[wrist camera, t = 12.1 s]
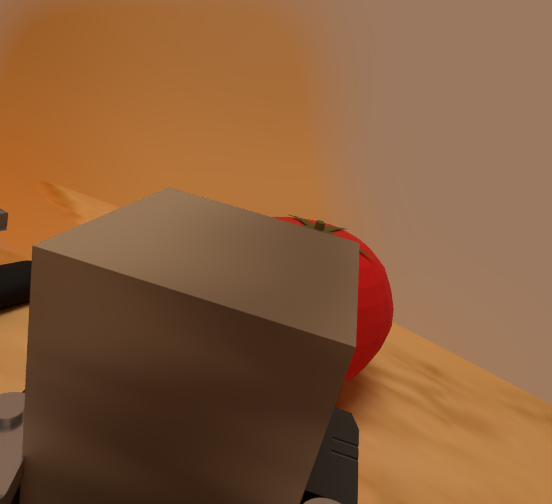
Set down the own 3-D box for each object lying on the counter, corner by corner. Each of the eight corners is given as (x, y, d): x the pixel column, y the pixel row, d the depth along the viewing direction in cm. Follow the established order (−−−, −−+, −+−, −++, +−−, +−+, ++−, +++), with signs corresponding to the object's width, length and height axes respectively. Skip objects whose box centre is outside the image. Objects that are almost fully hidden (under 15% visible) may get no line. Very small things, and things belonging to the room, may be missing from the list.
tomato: (236, 444, 23) (286, 264, 19) (174, 317, 33) (199, 180, 29) (394, 411, 29) (456, 267, 25) (301, 311, 39) (336, 195, 35)
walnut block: (8, 723, 10) (32, 245, 6) (112, 543, 14) (168, 187, 10) (192, 803, 10) (356, 346, 6) (244, 593, 14) (359, 242, 10)
